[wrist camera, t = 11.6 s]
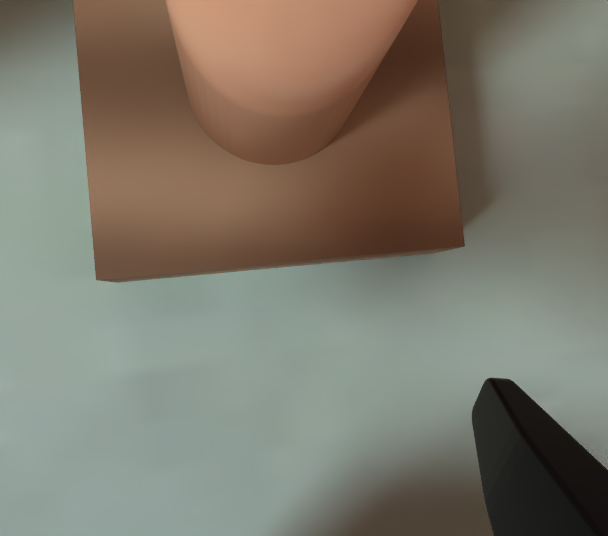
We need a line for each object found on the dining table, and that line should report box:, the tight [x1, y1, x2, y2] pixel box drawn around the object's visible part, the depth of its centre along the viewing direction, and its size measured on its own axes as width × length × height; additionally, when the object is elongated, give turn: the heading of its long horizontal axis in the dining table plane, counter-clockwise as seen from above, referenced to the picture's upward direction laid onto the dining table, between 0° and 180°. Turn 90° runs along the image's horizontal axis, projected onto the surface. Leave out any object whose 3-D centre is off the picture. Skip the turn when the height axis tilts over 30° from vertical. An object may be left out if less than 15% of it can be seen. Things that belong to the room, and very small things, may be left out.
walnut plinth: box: [73, 0, 465, 282], centre depth 20 cm, size 12×12×3 cm
